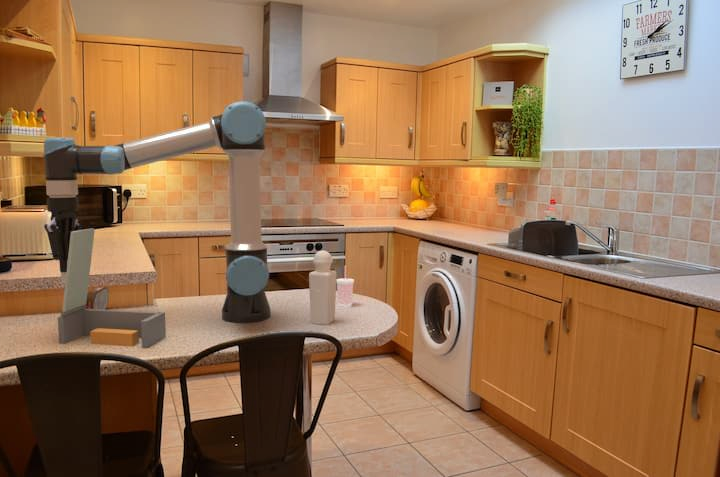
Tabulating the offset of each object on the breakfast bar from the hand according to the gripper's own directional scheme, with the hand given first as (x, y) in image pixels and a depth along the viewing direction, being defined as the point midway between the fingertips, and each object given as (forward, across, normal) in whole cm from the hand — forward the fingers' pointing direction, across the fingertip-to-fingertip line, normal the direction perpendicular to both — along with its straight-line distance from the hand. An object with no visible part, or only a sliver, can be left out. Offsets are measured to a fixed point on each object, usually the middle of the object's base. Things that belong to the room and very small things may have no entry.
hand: (67, 283), depth 160 cm
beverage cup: (+16, -50, +68) cm, 86 cm away
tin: (+16, -26, -8) cm, 31 cm away
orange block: (+16, +3, +15) cm, 21 cm away
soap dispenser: (+16, -28, +65) cm, 72 cm away
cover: (-3, 0, +4) cm, 5 cm away
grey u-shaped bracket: (+15, 0, +13) cm, 20 cm away
